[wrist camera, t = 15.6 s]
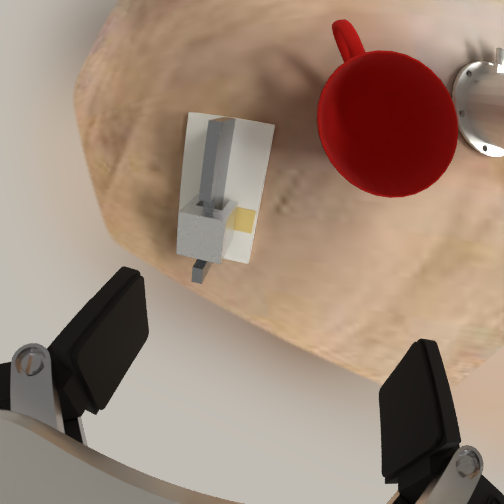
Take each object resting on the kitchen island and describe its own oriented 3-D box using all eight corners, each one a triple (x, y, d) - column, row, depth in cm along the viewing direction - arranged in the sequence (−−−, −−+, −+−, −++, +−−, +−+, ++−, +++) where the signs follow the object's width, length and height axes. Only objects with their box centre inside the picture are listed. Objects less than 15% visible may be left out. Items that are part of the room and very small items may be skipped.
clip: (197, 193, 35) (178, 211, 30) (238, 201, 35) (226, 221, 29) (193, 231, 37) (176, 254, 32) (232, 239, 37) (220, 264, 32)
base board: (191, 111, 32) (188, 112, 31) (275, 124, 32) (274, 125, 31) (179, 244, 41) (176, 248, 40) (249, 260, 40) (248, 264, 39)
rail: (225, 116, 31) (208, 120, 25) (235, 118, 31) (221, 121, 25) (207, 254, 40) (191, 281, 34) (215, 256, 40) (201, 283, 34)
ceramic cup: (380, 23, 23) (407, -3, 15) (432, 154, 30) (472, 174, 21) (277, 56, 28) (268, 37, 19) (337, 187, 34) (350, 218, 25)
